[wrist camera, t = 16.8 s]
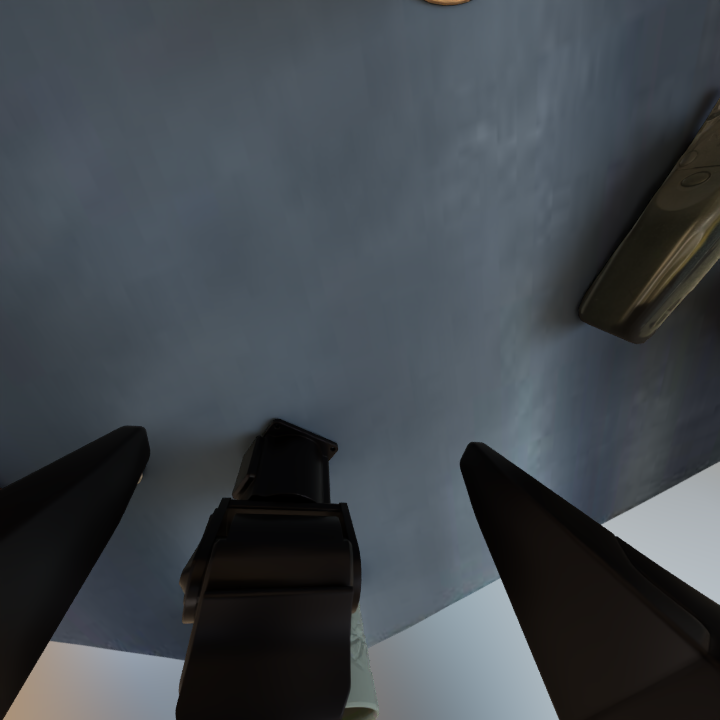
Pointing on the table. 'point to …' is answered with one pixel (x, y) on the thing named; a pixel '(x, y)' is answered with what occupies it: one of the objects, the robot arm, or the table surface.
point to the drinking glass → (360, 677)
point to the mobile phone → (663, 246)
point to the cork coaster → (447, 2)
